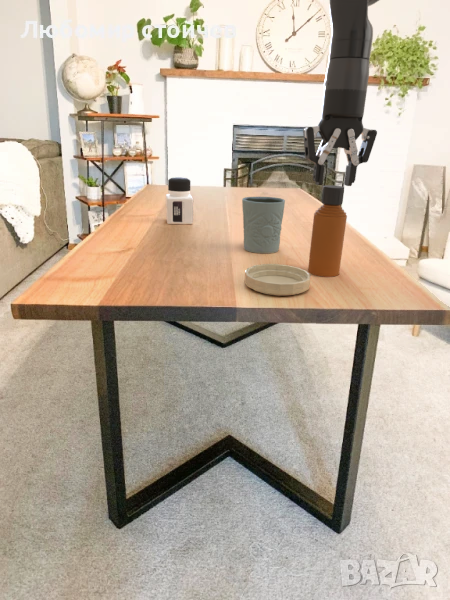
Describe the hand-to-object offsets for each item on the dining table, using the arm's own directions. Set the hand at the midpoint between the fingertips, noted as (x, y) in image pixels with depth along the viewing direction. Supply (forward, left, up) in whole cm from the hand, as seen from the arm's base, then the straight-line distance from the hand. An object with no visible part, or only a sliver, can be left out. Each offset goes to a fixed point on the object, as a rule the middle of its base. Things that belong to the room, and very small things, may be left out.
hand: (333, 184), depth 86 cm
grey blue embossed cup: (+9, -19, -18) cm, 28 cm away
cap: (0, 0, -4) cm, 4 cm away
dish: (+12, +8, -18) cm, 23 cm away
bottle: (0, 0, -18) cm, 18 cm away
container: (+27, -51, -18) cm, 60 cm away
